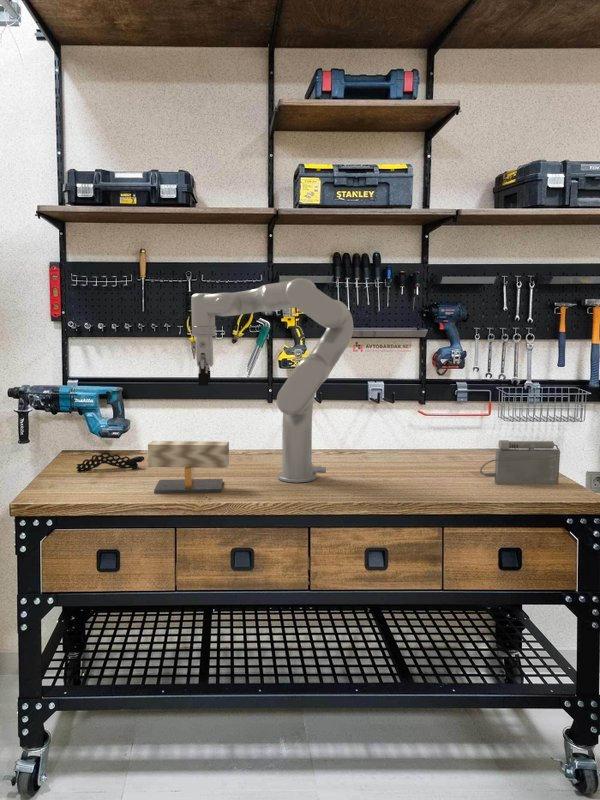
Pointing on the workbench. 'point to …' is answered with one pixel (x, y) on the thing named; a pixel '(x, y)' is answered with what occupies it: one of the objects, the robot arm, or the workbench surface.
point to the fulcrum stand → (189, 484)
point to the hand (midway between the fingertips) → (204, 383)
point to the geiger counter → (526, 463)
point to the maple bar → (188, 454)
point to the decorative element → (110, 462)
